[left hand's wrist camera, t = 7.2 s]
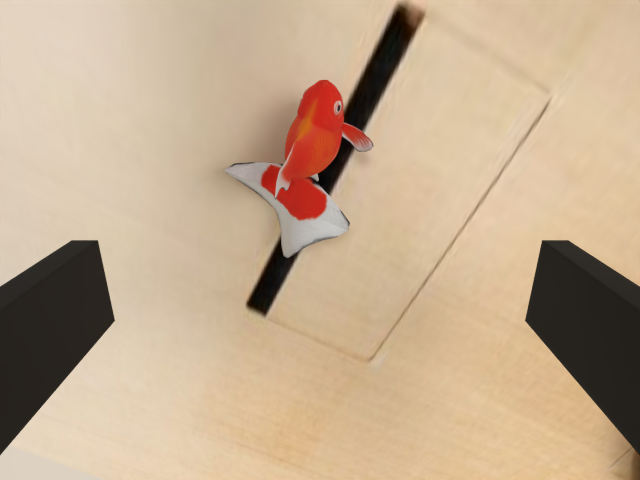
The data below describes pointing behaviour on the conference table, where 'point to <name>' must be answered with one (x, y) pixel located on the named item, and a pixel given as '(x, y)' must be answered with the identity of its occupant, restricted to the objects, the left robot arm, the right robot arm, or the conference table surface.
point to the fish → (305, 170)
